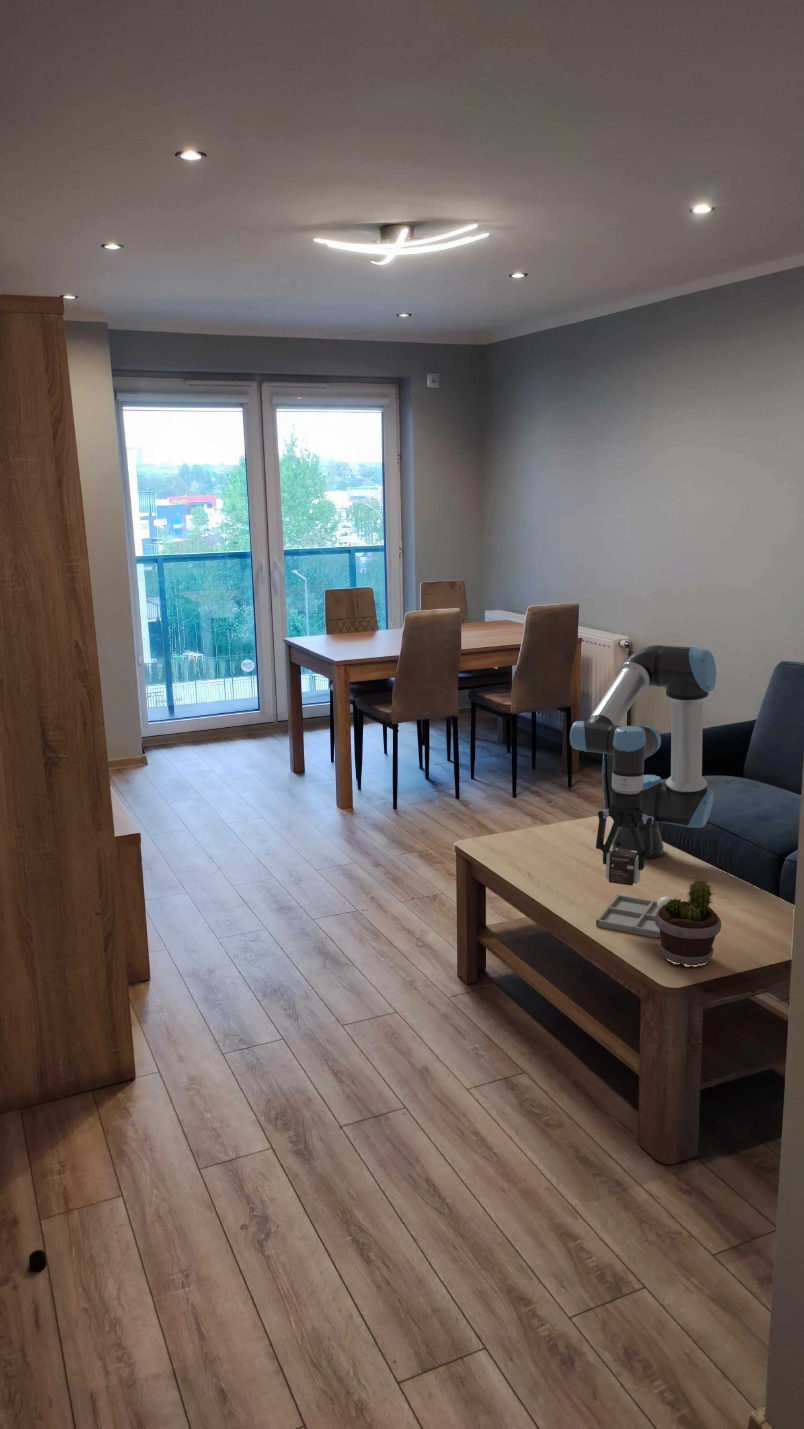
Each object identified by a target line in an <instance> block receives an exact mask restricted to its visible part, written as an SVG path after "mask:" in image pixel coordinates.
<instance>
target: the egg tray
mask: <svg viewBox="0 0 804 1429" xmlns="http://www.w3.org/2000/svg"><path fill="white" fill-rule="evenodd" d="M657 902H658V900H656V901H655V900H651V899H646V898H639V897H634V896H628V895H623V894H618V893H617V894H616V896H615V897H614V898H613V899H612V900H611V902H610V903H609V904H608V905H607V907H605V908H604V910H603V911H602V913H600V915H599V916H598V917H597V919H596V922H595V927H599V928H604V929H609V930H614V931H619V932H620V931H621V932H625V933H630V934H635V935H640V936H646V937H650V936H653V937H652V938H655V937H660V929H659V928H658V927H657V926H656V924H655V915H656V913H657V912H658V908H657ZM660 938H661V937H660ZM660 938H659V939H660Z"/></svg>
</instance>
